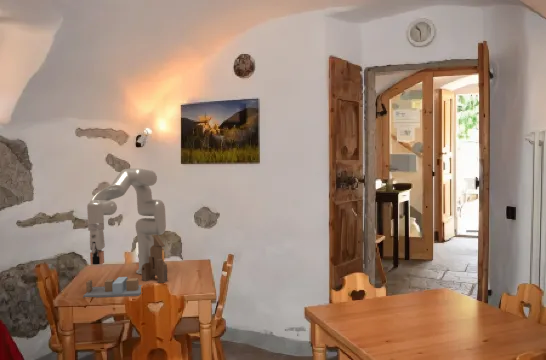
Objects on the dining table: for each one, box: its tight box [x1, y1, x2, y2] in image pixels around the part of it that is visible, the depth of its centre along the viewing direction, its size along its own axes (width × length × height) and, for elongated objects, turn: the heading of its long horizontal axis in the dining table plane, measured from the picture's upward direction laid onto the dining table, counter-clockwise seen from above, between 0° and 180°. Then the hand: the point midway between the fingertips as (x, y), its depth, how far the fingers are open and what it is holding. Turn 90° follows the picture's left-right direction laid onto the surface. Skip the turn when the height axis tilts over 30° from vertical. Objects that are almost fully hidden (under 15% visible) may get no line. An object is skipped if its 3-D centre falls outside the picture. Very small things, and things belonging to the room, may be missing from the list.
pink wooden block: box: [89, 250, 105, 266], centre depth 262 cm, size 4×6×6 cm
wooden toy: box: [141, 235, 169, 284], centre depth 285 cm, size 15×7×25 cm, turn 55°
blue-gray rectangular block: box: [112, 276, 129, 294], centre depth 263 cm, size 13×4×5 cm, turn 3°
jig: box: [82, 277, 143, 298], centre depth 263 cm, size 16×27×6 cm, turn 94°
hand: (97, 262), depth 262 cm, fingers closed on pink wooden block, 4 cm apart
